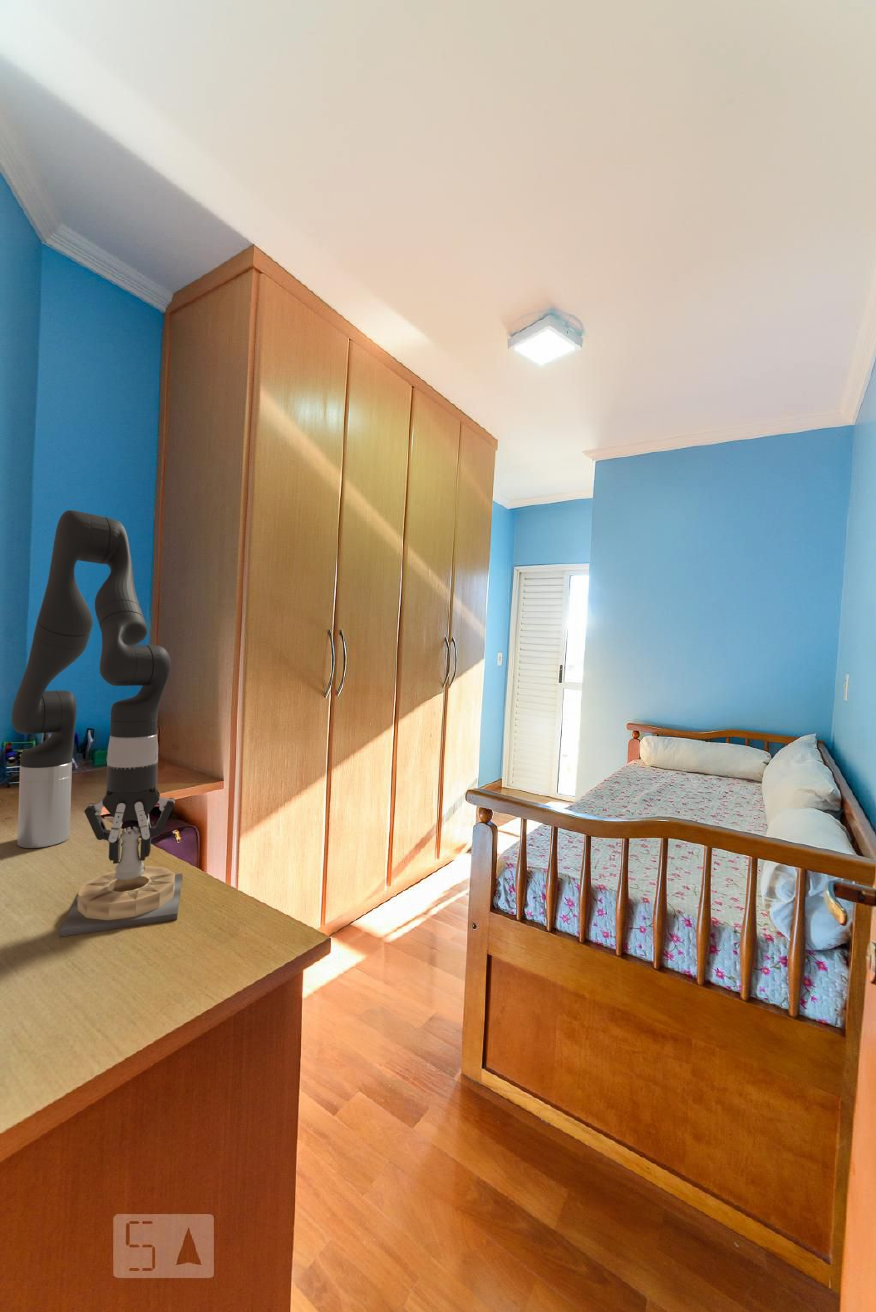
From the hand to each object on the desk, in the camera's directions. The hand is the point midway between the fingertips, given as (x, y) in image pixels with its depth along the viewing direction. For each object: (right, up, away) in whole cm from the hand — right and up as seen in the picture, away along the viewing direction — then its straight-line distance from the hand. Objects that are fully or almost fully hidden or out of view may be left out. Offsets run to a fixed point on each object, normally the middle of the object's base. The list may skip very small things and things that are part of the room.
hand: (129, 860), depth 90 cm
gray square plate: (0, -8, 0) cm, 8 cm away
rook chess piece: (0, -3, 0) cm, 3 cm away
